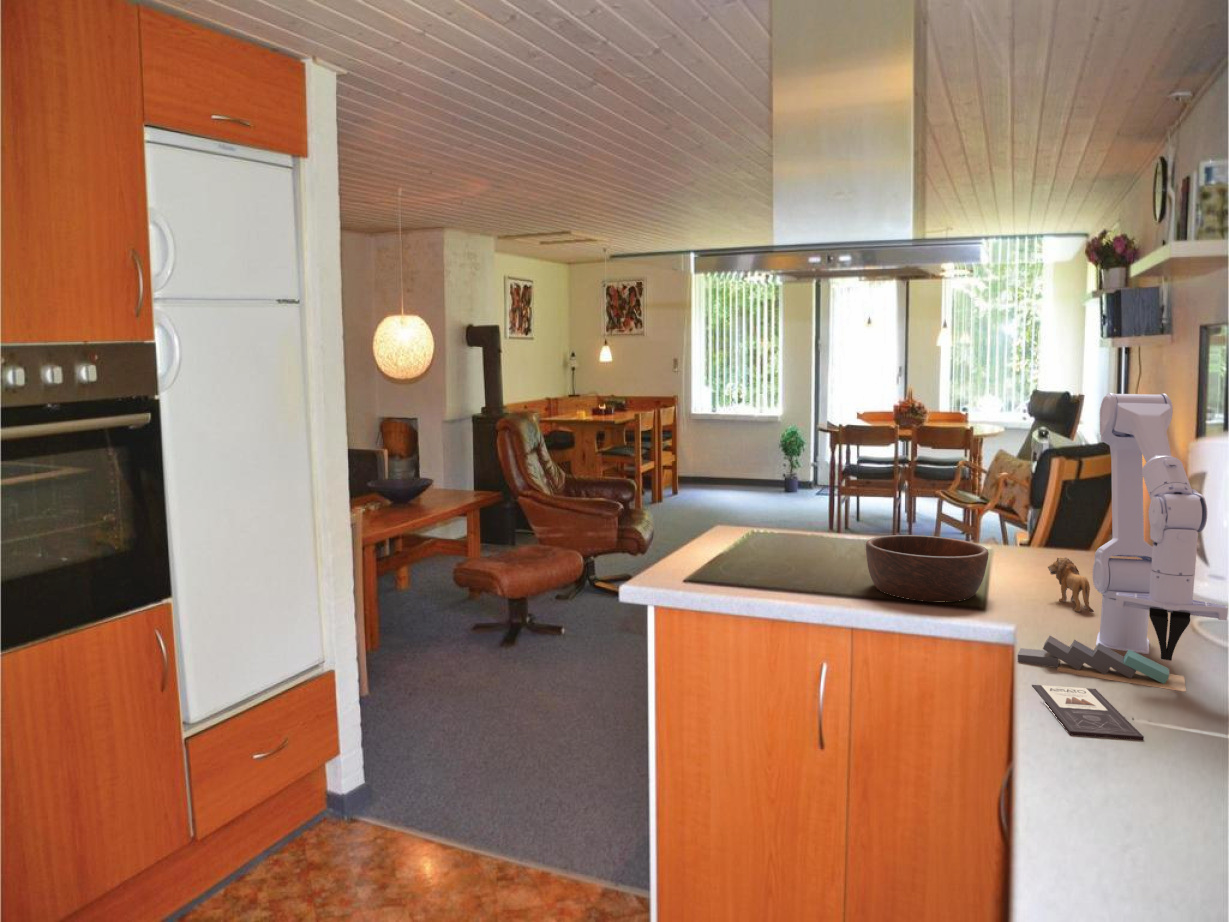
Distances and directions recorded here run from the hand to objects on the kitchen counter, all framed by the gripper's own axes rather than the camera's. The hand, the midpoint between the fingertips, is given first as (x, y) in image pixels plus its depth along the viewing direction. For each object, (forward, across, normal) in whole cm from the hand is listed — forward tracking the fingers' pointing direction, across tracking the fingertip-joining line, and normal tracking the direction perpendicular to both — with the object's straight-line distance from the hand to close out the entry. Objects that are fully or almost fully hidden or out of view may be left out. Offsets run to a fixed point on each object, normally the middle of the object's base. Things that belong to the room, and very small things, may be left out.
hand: (1166, 658), depth 141 cm
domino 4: (+3, -4, 0) cm, 5 cm away
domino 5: (+3, 0, 0) cm, 3 cm away
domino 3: (+3, -8, 0) cm, 8 cm away
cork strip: (+4, -6, 0) cm, 7 cm away
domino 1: (+3, -15, 0) cm, 15 cm away
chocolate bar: (+5, -10, -20) cm, 23 cm away
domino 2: (+3, -11, 0) cm, 12 cm away
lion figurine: (+4, -16, +45) cm, 48 cm away
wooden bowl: (+4, -44, +40) cm, 60 cm away
